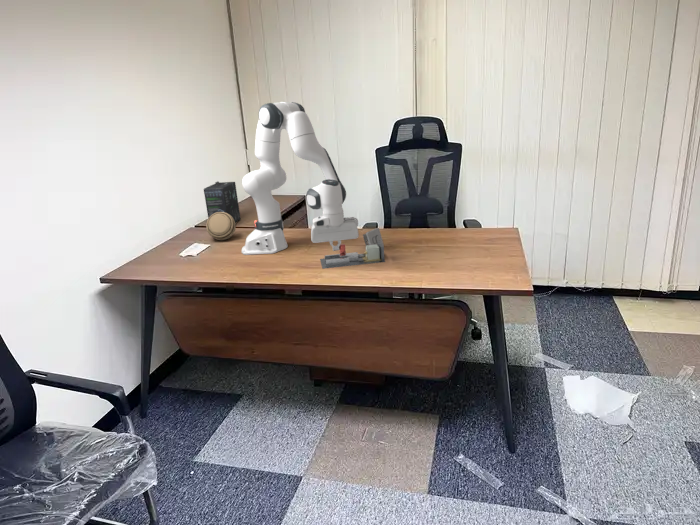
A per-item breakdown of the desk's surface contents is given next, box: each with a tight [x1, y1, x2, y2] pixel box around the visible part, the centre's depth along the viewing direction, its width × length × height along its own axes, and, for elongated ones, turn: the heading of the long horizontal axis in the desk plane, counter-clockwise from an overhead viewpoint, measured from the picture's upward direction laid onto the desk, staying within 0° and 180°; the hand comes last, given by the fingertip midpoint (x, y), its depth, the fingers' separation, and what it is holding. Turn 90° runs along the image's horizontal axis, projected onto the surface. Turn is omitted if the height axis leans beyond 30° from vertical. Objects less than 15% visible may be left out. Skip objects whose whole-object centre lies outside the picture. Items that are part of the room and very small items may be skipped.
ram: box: [338, 243, 365, 261], centre depth 208 cm, size 11×3×7 cm, turn 98°
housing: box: [363, 244, 380, 260], centre depth 210 cm, size 6×5×5 cm
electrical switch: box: [362, 227, 384, 247], centre depth 225 cm, size 9×5×9 cm, turn 141°
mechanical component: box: [205, 212, 237, 241], centre depth 256 cm, size 15×15×15 cm
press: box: [319, 241, 386, 270], centre depth 209 cm, size 27×13×7 cm, turn 98°
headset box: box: [203, 181, 241, 224], centre depth 285 cm, size 22×12×26 cm, turn 174°
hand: (336, 250), depth 207 cm, fingers closed
